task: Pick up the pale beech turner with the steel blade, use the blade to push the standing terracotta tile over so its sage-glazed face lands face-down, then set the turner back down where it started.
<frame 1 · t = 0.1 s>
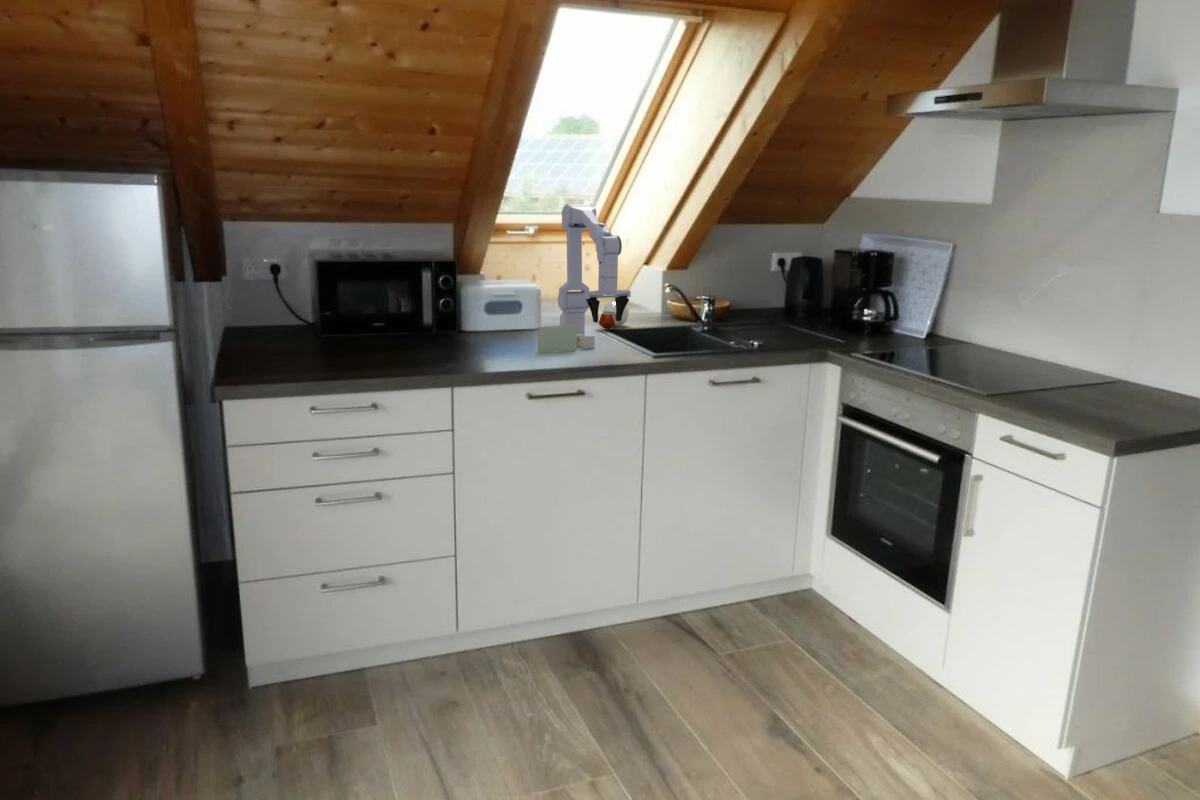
hand: (607, 321, 267), 10 cm above the countertop, tool pointing down, fingers open, 7 cm apart
turner: (581, 345, 281), on the countertop
tile: (557, 351, 272), on the countertop
potion bottle: (613, 328, 314), on the countertop
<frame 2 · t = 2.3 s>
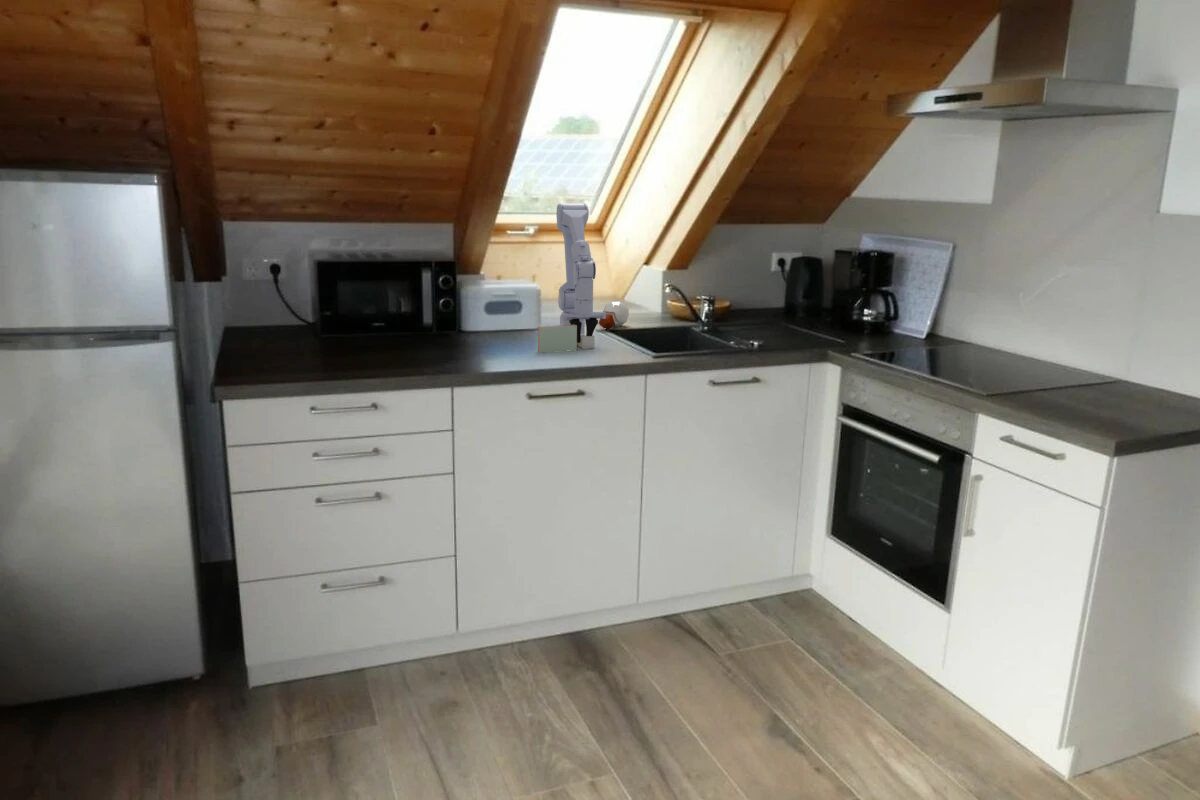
hand: (583, 341, 279), 1 cm above the countertop, tool pointing down, fingers closed on turner, 3 cm apart
turner: (581, 345, 281), on the countertop, touching gripper
everything else where it was.
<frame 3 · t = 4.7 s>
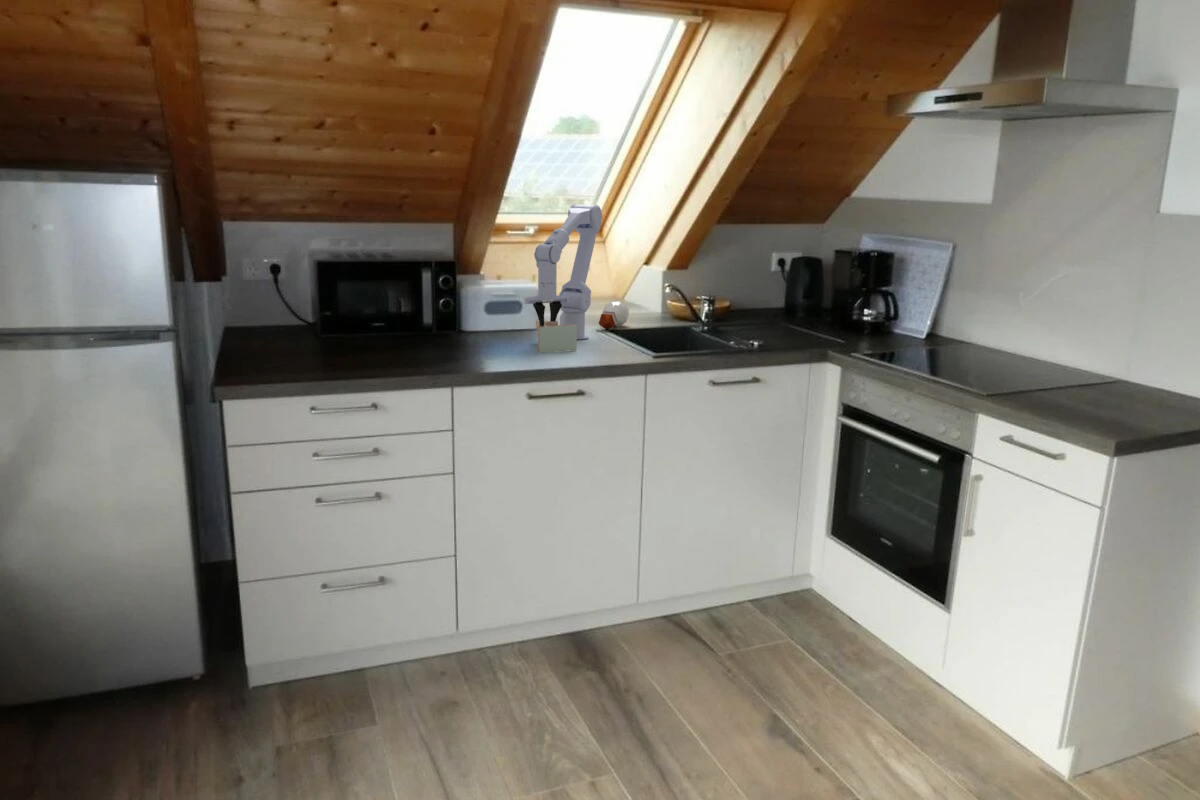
hand: (547, 325, 278), 6 cm above the countertop, tool pointing down, fingers closed on turner, 3 cm apart
turner: (545, 331, 280), point 4 cm above the countertop, touching gripper
everything else where it was.
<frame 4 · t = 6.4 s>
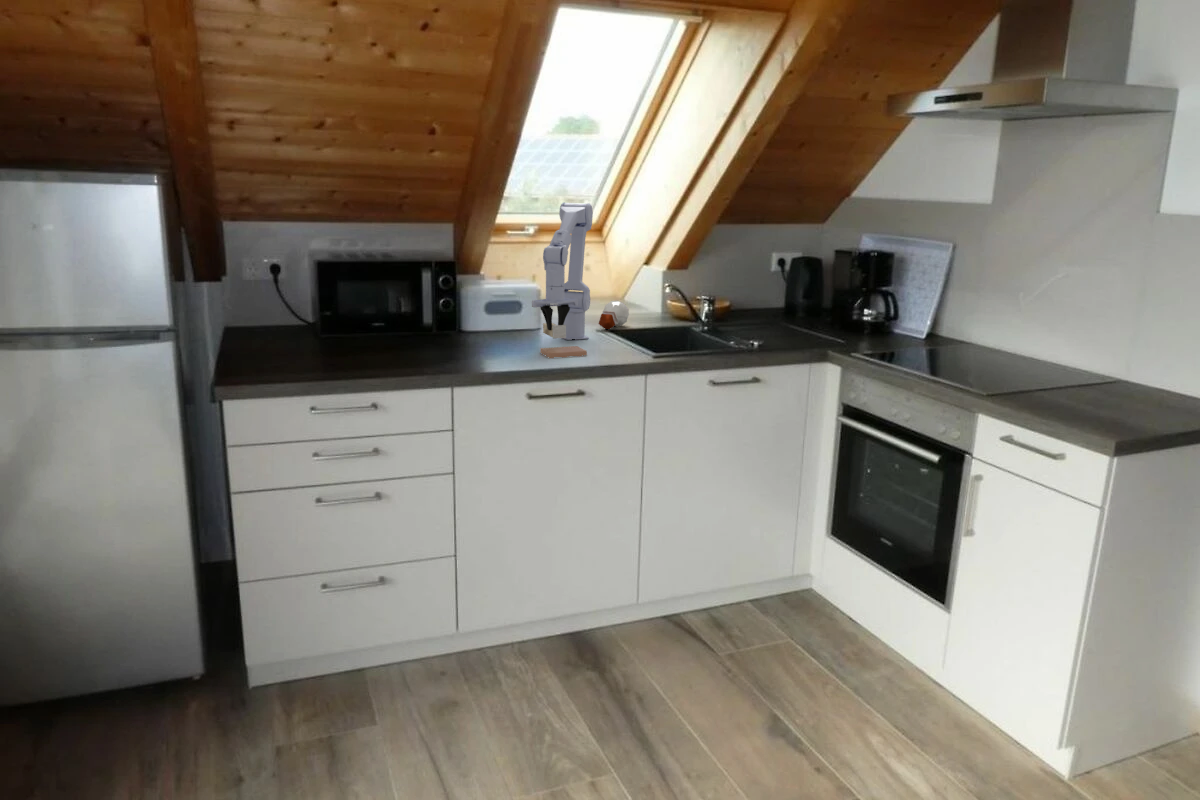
hand: (554, 329, 272), 6 cm above the countertop, tool pointing down, fingers closed on turner, 3 cm apart
turner: (553, 335, 274), point 4 cm above the countertop, touching gripper
tile: (558, 350, 271), on the countertop, tilted 90°
everything else where it was.
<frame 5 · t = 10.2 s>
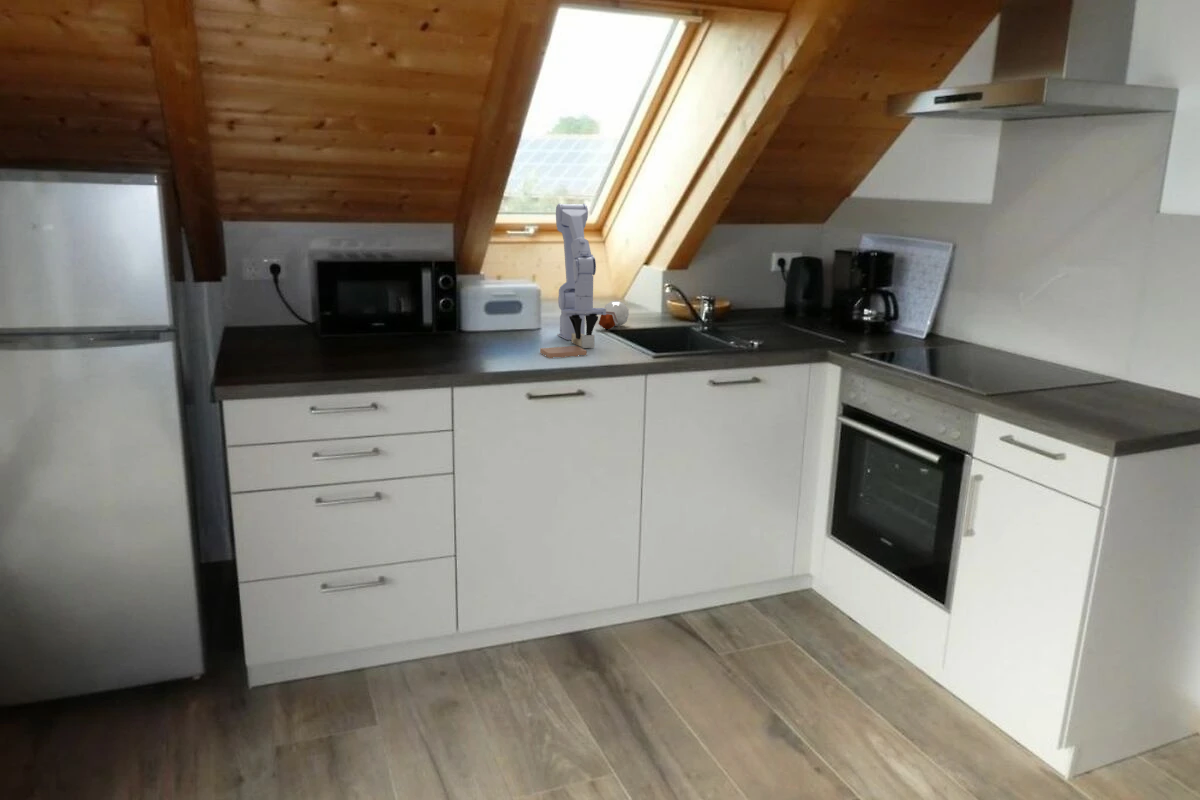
hand: (583, 338, 279), 3 cm above the countertop, tool pointing down, fingers closed on turner, 3 cm apart
turner: (581, 344, 281), on the countertop, touching gripper
everything else where it was.
when the fingers open (2 cm above the countertop, at t = 10.6 s): turner stays where it is, on the countertop.
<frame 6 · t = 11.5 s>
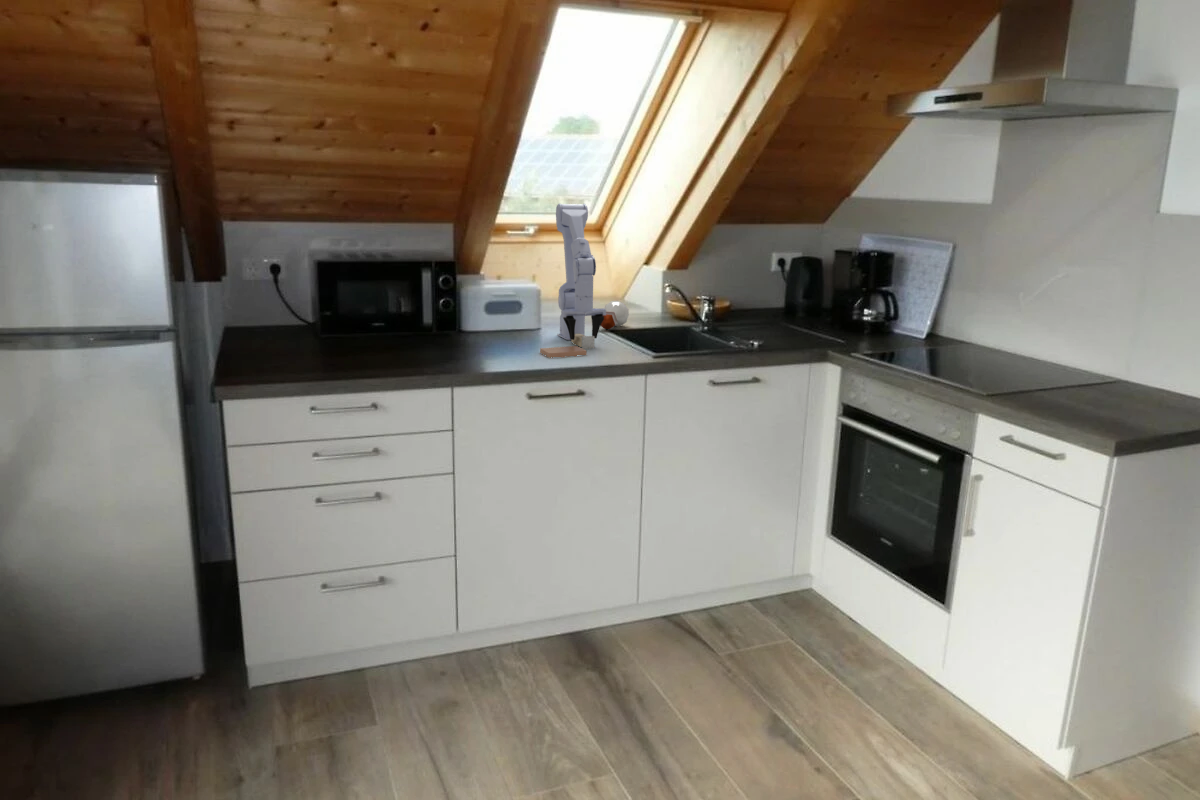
hand: (583, 338, 279), 2 cm above the countertop, tool pointing down, fingers open, 7 cm apart
turner: (581, 345, 281), on the countertop
everything else where it was.
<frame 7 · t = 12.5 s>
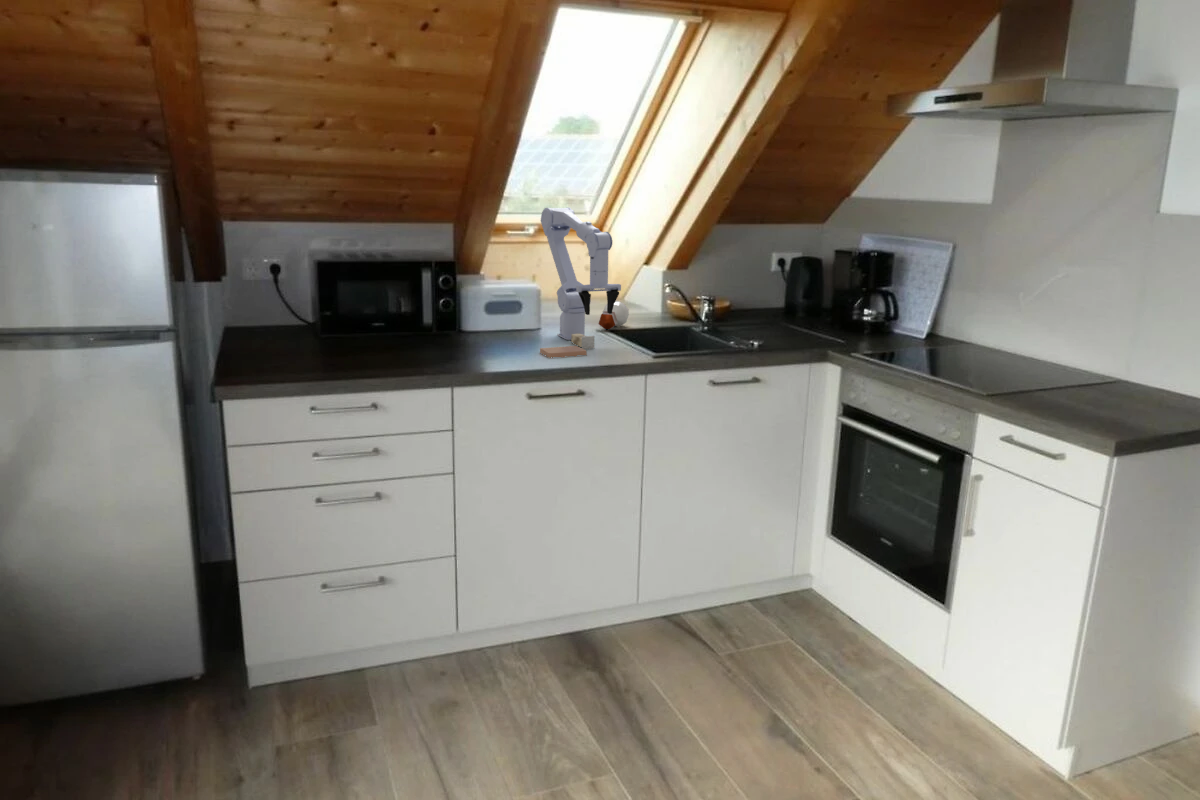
hand: (598, 313, 280), 10 cm above the countertop, tool pointing down, fingers open, 7 cm apart
nothing on the countertop moved.
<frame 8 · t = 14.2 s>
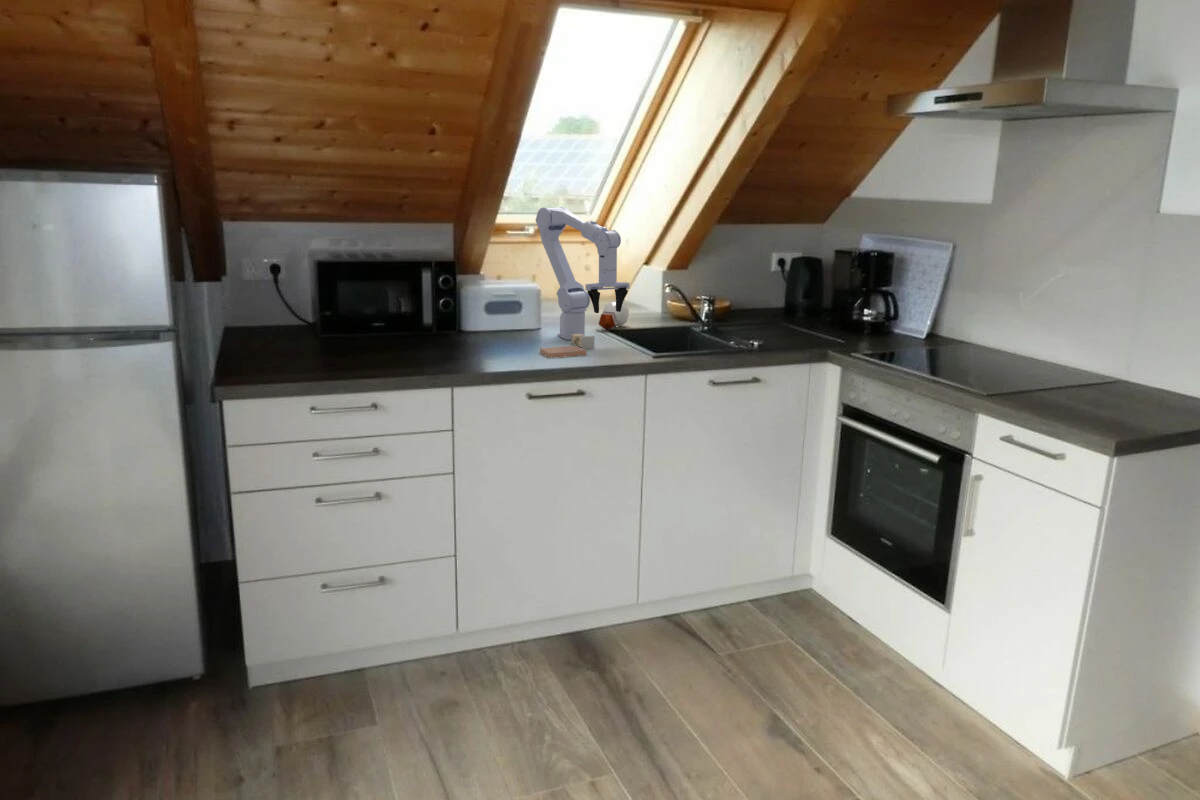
hand: (607, 312, 282), 10 cm above the countertop, tool pointing down, fingers open, 7 cm apart
nothing on the countertop moved.
at the end: tile tilted 90°; turner touching countertop; the gripper is holding nothing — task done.
